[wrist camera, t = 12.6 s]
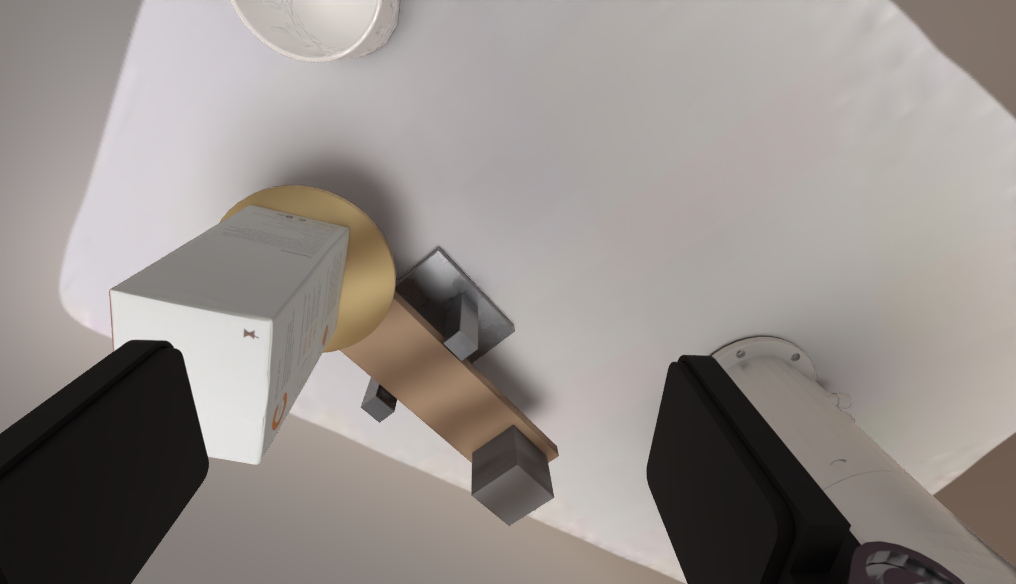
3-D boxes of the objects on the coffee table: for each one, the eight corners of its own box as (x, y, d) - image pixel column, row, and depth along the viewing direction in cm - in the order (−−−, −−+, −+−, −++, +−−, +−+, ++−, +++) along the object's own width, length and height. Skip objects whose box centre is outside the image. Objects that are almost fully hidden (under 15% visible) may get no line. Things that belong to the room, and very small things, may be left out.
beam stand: (514, 325, 44) (521, 375, 37) (418, 397, 47) (407, 457, 40) (439, 246, 41) (430, 285, 33) (340, 329, 43) (312, 381, 36)
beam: (582, 423, 42) (599, 478, 37) (479, 492, 45) (479, 553, 39) (307, 141, 32) (269, 156, 26) (191, 254, 34) (134, 290, 28)
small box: (249, 202, 30) (104, 284, 19) (352, 226, 31) (276, 319, 20) (242, 313, 34) (114, 446, 22) (336, 332, 35) (262, 468, 23)
